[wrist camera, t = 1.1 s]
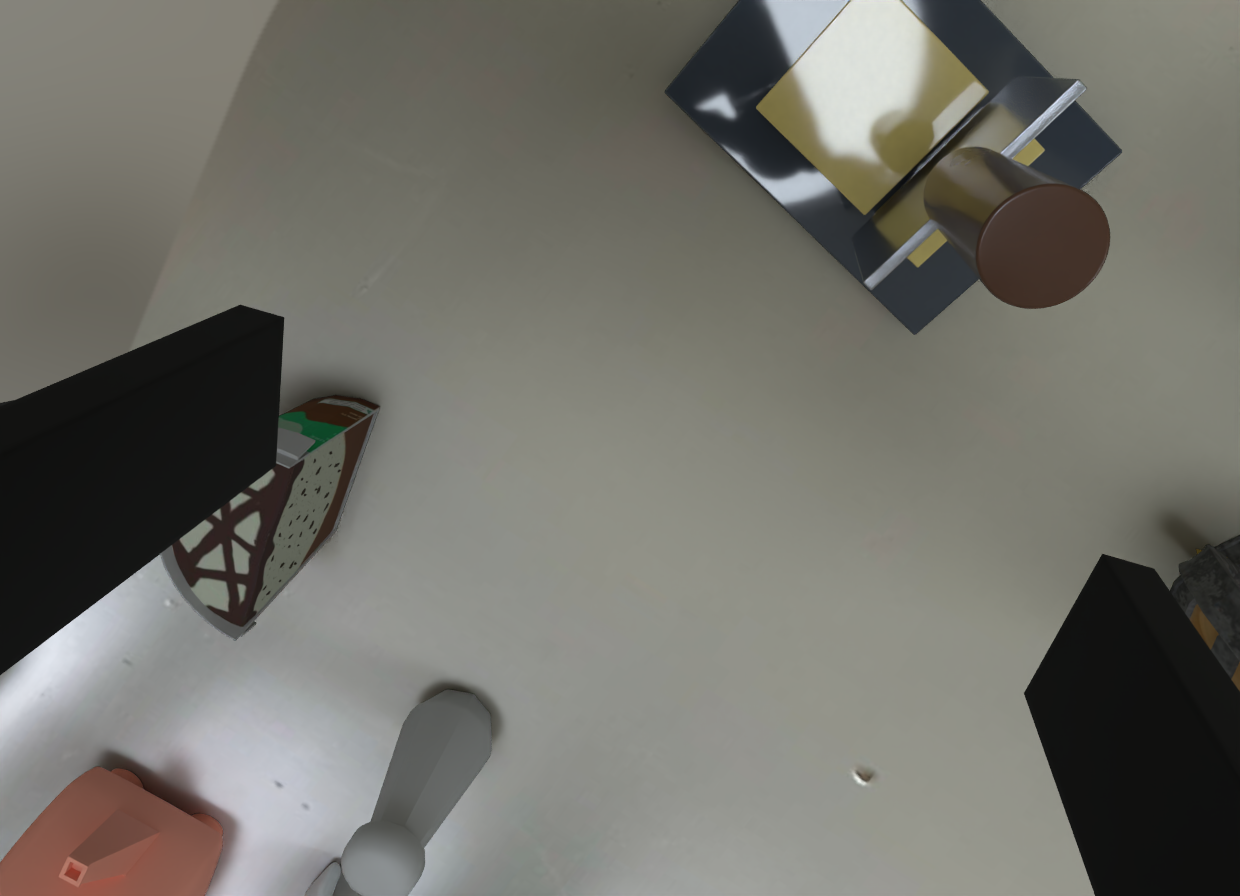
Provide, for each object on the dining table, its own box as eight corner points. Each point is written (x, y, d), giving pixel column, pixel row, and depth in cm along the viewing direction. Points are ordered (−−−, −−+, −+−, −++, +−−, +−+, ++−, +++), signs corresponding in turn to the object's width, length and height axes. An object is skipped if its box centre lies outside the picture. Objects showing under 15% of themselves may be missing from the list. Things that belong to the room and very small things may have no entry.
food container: (288, 333, 48) (169, 395, 39) (388, 384, 48) (292, 458, 39) (239, 505, 53) (125, 593, 44) (329, 550, 53) (232, 648, 44)
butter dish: (666, 91, 39) (645, 95, 34) (850, -133, 35) (858, -170, 29) (912, 330, 41) (929, 370, 36) (1116, 149, 37) (1169, 164, 31)
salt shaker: (402, 707, 57) (299, 871, 46) (451, 662, 55) (357, 823, 43) (468, 762, 58) (384, 936, 47) (520, 720, 56) (445, 892, 44)
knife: (831, 219, 35) (852, 339, 20) (995, 53, 31) (1177, 42, 16) (876, 263, 35) (932, 415, 20) (1043, 104, 32) (1266, 141, 17)
